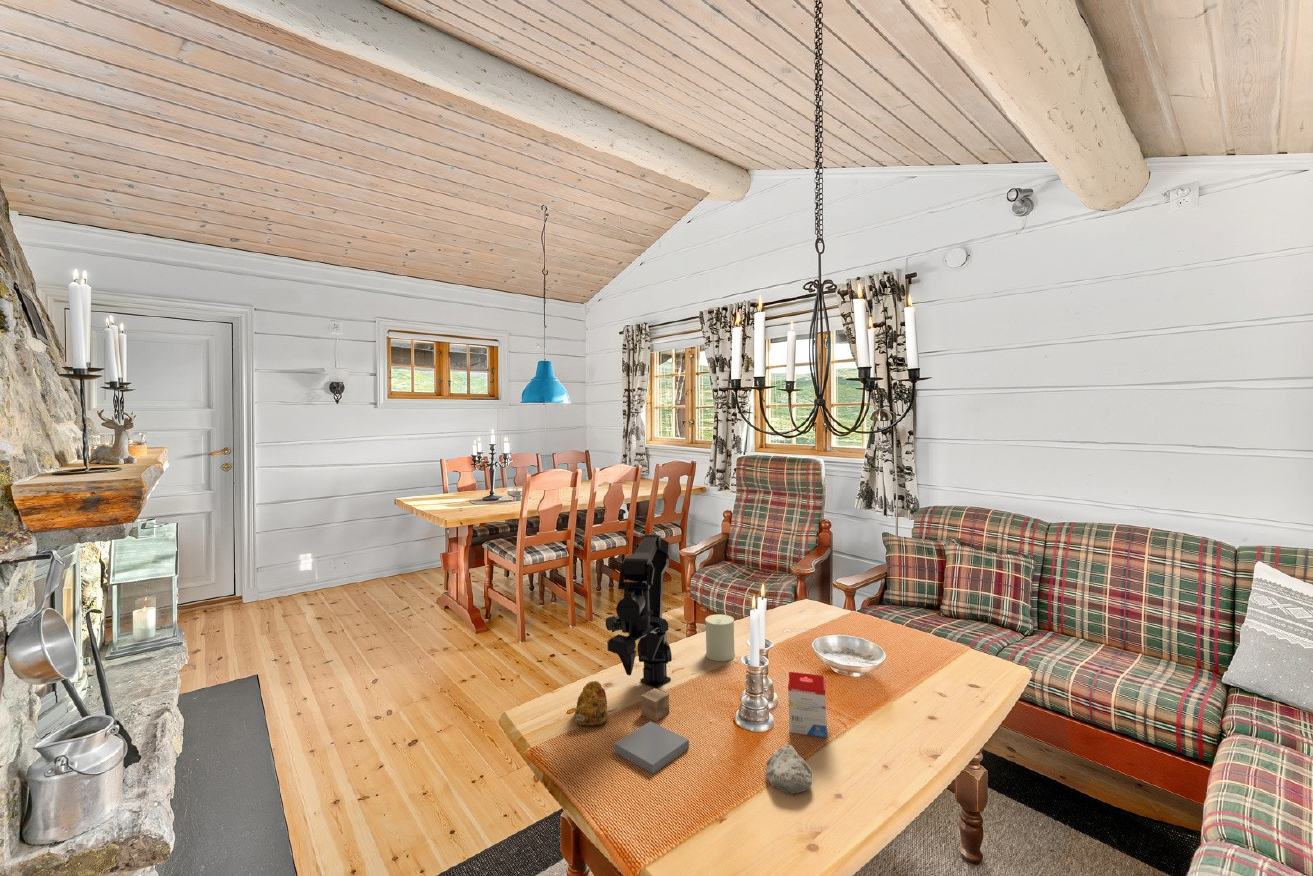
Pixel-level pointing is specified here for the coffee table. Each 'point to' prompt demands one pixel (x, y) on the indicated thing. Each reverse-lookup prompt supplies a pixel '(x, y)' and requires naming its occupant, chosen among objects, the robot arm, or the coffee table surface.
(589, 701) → the rock
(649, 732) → the plate
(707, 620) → the pale green cylinder
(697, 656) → the coffee table surface
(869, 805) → the coffee table surface
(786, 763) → the decorative stone
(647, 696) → the walnut cube
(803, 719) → the ink box
